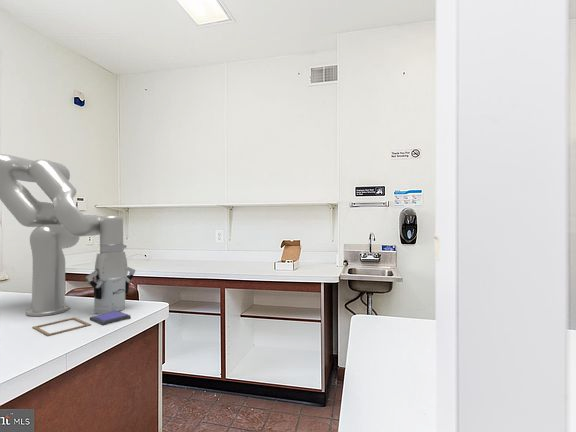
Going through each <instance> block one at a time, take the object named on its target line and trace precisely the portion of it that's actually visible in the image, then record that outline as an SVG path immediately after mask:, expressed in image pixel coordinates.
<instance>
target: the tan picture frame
mask: <svg viewBox="0 0 576 432" xmlns="http://www.w3.org/2000/svg"><path fill="white" fill-rule="evenodd" d="M69 321H75V322H78V323H80V324H82V325H79V326H75V327H71V328H67V329H62V330H59V331H55V332H51V333H50V332H47V331H46V330H43V329H42V327H46V326H51V325H55V324H60V323H64V322H69ZM89 326H92V324H91V323H89V322H87V321H84V320H82V319H79V318H76V317H74V316H73V317H70V318H66V319H61V320H57V321H51V322H49V323H43V324H38V325H35V326H32V327H31V328H32V329H34V330H35V331H37V332H39V334H40V333H41V334H42V335H44V336H46V337H50V336H55V335H58V334H62V333H66V332H70V331H73V330H79V329H81V328H85V327H89Z"/></svg>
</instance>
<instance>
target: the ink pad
mask: <svg viewBox="0 0 576 432" xmlns="http://www.w3.org/2000/svg"><path fill="white" fill-rule="evenodd" d="M130 319H131V314H128V313H124V312H122V311H114V312H109V313H105V314H97V315H92V316H89V321H91V322H94V323H96V324H99V325H100V326H106V325H110V324H113V323H117V322H122V321H125V320H130Z"/></svg>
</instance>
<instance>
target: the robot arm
mask: <svg viewBox="0 0 576 432" xmlns="http://www.w3.org/2000/svg"><path fill="white" fill-rule="evenodd" d="M70 178H71V173H70V170H69V169H68V167H66V165H64V164H62V163H59V162H57V161H56V162H55V161H51V160H47V159H36V160H31V159H27V158H22V157H20V156H19V157H18V156H15V155H11V154H1V153H0V201H1V203H3V205H4V206H5V208H6V209H8V211H9V212H10V214H11V215H12V216H13V217H14V218H15V220H16V221H17V222H18V223H19V224H20V225H22V226H23V227H26V228H34V229H33V230H32V231H31V233H30V235H29V245H30V249H31V256H32V276H31V278H32V281H31V282H32V285H31V286H32V288H31V291H32V292H31V307H30V308H28V309H27V310H26V311H25V315H27V316H30V317H44V316H51V315H58V314H60V313H61V314H62V313H64V312H66V311H69V310H70V306H71V305H69V304H67V303H65V301H66V299H65V297H66V257H65V254H64V251H63V249H69V248H72V247H74V246H76V245H77V243H78V242H79V240H80V237H89V236H91V237H92V236H99V253H96V257H95V258H96V259H95V264H94V271H92V272H91V273H89V274H87V276H85V279H86V281H87V282H88V284H89V285H90V286H92V288H93V296H94V297H95V298H96V299H101V288H100V286H101V284H102V283H103V282H105V281H107V279H110V278H117V277H123V278H126V279H125V280H126V286H125V295H126V294H129V288H130V287H129V286H130V285H129V284H130V283H131V280H132V279H133V277H134V275H135V273H136V269H134V268H131V267H129V266H128V259H127V255H126V252H125V249H127V247H128V246H127V245H126V244H124V218H123V217H122V216H120V215H97V214H96V215H95V214H94V215H93V214H84V213H83V212H81V210H80V209H79V208H78V207H77V206H76V204H75V203H74V200H73V198H74V197H75V196H76V195H77V188H76V187H75V186H74V185H73V184H72V183H71V182H70ZM19 181H20V182H19ZM21 182H27V183H28V182H29V183H36V184H37V186H38V187H39V189H41V191H43V192H44V194H45V195H46V196H47V197H48V198H49V200H50V201H51V202H47V201H46V202H45V201H40V200H38V199H36V197H34V196H33V195H32V193H31V192H30V190H29V189H27V187H25V186H24V185H23V184H21ZM128 272H129V273H128ZM93 278H94V279H93ZM96 278H98V279H97V280H96ZM99 278H100V279H99ZM95 280H96V281H95Z"/></svg>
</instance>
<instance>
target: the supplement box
mask: <svg viewBox="0 0 576 432" xmlns="http://www.w3.org/2000/svg"><path fill="white" fill-rule="evenodd" d="M97 279H98V278H96V280H97ZM99 279H100V278H99ZM125 279H126V278H123V277H117V278H110V279H107V281H105V282H103V283H102V284H101V286H100V288H101V299H96V298H95V297H94V300H93V313H94V314H98V315H101V314H105V313H109V312H114V311H119V312H121V311H123V310H125V309H126V293H125V286H126V280H125ZM96 280H95V279H94V282H95V281H96Z"/></svg>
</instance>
